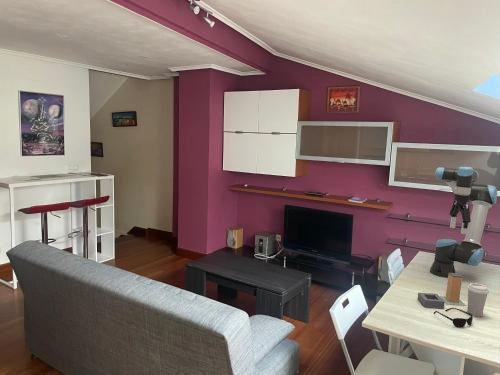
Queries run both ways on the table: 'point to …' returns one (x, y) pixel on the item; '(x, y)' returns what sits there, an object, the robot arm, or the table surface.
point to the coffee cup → (476, 299)
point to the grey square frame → (431, 300)
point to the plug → (453, 287)
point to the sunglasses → (458, 321)
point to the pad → (452, 302)
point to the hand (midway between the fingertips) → (457, 230)
